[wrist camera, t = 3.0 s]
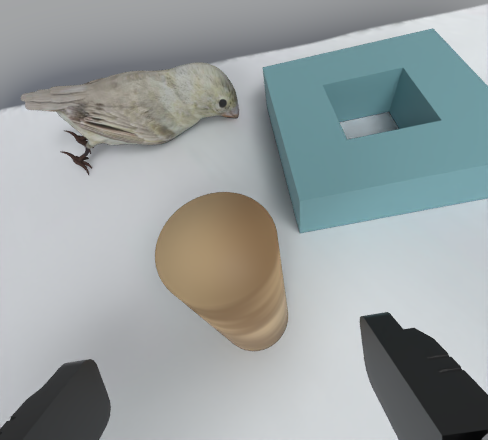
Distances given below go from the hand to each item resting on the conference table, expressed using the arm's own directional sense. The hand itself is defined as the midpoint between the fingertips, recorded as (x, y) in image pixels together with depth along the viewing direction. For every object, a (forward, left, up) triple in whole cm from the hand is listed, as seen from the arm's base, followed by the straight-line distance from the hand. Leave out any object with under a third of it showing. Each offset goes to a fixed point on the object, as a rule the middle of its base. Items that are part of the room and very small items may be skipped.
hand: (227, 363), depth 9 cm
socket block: (+11, +16, -9) cm, 21 cm away
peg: (0, +4, -9) cm, 10 cm away
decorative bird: (-7, +22, -10) cm, 24 cm away
